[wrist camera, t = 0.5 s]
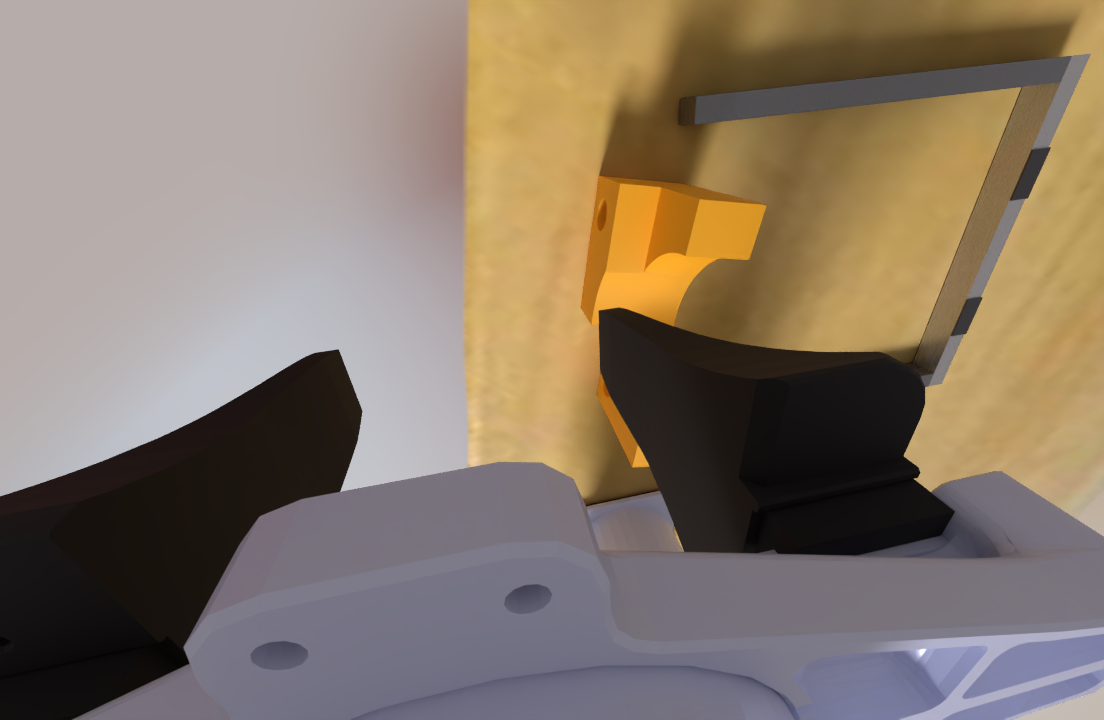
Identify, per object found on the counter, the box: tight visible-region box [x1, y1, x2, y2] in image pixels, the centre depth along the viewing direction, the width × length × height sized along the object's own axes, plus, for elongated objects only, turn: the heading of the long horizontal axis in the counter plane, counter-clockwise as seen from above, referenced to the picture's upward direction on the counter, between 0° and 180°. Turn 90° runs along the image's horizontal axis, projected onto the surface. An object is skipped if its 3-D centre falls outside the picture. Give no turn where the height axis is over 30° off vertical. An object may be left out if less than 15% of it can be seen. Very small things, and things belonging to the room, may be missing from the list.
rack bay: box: [679, 54, 1090, 387], centre depth 23 cm, size 18×19×2 cm
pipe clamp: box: [581, 176, 767, 468], centre depth 20 cm, size 12×4×6 cm, turn 174°
